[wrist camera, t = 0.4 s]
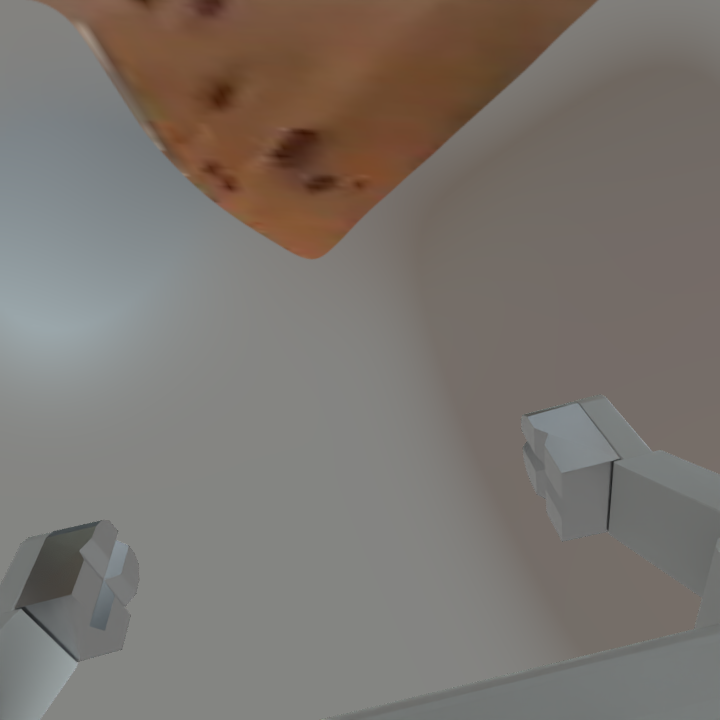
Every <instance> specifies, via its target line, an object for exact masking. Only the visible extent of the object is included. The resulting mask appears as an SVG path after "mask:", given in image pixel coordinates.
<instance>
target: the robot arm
mask: <svg viewBox="0 0 720 720" xmlns="http://www.w3.org/2000/svg"><path fill="white" fill-rule="evenodd" d="M521 427H522V432H523V434H524V435H525V437H526V439H527V442H526V443H525V445H524V446H523V455H524V462H525V466H526V470H527V474H528V476H529V479H530V481H531V484H532V486H533V488H534V490H535V491H536V493H537V495H539V496H541V497H543V498H544V499H546V508H547V509H546V510H547V514H548V516H549V518H550V520H551V522H552V524H553V526H554V527H555V529H556V531H557V533H558V535H559V537H560V539H561V540H562V541H567V540H572V539H577V538H581V537H586V536H590V535H595V534H600V533H604V532H608V533H609V535H611V536H612V537H614V538H615V539H617V540H618V541H620V542H621V543H623V544H624V545H626V546H627V547H628V548H630V549H631V550H633V551H634V552H636V553H637V554H639V555H640V556H641V557H643V558H644V559H646V560H647V561H649V562H650V563H652V564H653V565H655V566H656V567H658V568H659V569H661V570H662V571H663V572H665V573H666V574H668V575H670V576H671V577H672V578H674V579H675V580H677V581H678V582H680V583H681V584H683V585H684V586H685V587H687V588H688V589H690V590H691V591H693V592H694V593H696V594H697V595H699V596H700V597H702V601H701V605H700V608H699V612H698V616H697V620H696V624H695V627H694V629H693V630H689V631H686V632H681V633H677V634H673V635H669V636H665V637H660V638H656V639H652V640H648V641H644V642H640V643H636V644H631V645H627V646H623V647H619V648H616V649H611V650H607V651H603V652H598V653H594V654H590V655H586V656H582V657H578V658H574V659H570V660H566V661H562V662H557V663H553V664H549V665H545V666H541V667H537V668H533V669H528V670H524V671H520V672H516V673H512V674H507V675H503V676H499V677H495V678H491V679H487V680H483V681H478V682H474V683H470V684H466V685H462V686H458V687H453V688H450V689H445V690H441V691H437V692H433V693H429V694H425V695H420V696H417V697H412V698H408V699H404V700H400V701H395V702H392V703H387V704H383V705H379V706H375V707H371V708H367V709H362V710H358V711H354V712H350V713H346V714H342V715H337V716H333V717H329V718H325V719H321V720H720V474H717V473H715V472H712V471H710V470H707V469H705V468H703V467H700V466H698V465H695V464H693V463H691V462H688V461H686V460H683V459H681V458H679V457H676V456H674V455H671V454H669V453H667V452H664V451H662V450H659V451H655V452H652V451H651V449H650V448H649V447H648V446H647V445H646V444H645V442H644V441H643V440H642V439H641V438H640V437H639V435H638V434H637V433H636V432H635V431H634V430H633V428H632V427H631V426H630V425H629V424H628V423H627V421H625V419H624V418H623V417H622V416H621V414H620V413H619V412H618V411H617V410H616V408H615V407H614V406H613V405H612V404H611V403H610V401H609V400H608V399H607V398H606V397H605V396H603V395H596V396H593V397H589V398H585V399H581V400H577V401H574V402H570V403H566V404H563V405H559V406H555V407H551V408H547V409H543V410H539V411H536V412H532V413H528V414H524V415H522V419H521ZM117 534H118V530H117V529H116V528H115V527H114V525H113V524H112V523H111V522H110V521H108V520H101V521H97V522H92V523H88V524H83V525H79V526H75V527H70V528H66V529H62V530H57V531H53V532H51V533H46V534H42V535H37V536H32V537H28V538H27V539H26V540H25V541H23V542H22V543H21V544H20V546H19V548H18V550H17V552H16V554H15V556H14V558H13V560H12V562H11V564H10V566H9V568H8V570H7V572H6V575H5V577H4V578H3V580H2V583H1V585H0V720H40V719H41V718H42V716H43V715H44V713H45V712H46V710H47V709H48V707H49V706H50V704H51V703H52V702H53V700H54V699H55V697H56V696H57V695H58V693H59V692H60V690H61V689H62V687H63V686H64V684H65V683H66V682H67V680H68V678H69V677H70V676H71V674H72V673H73V672H74V670H75V669H76V667H77V666H78V663H77V662H79V661H82V660H86V659H90V658H94V657H97V656H101V655H104V654H108V653H112V652H115V651H119V650H122V648H123V644H124V640H125V636H126V632H127V628H128V624H129V620H130V617H131V615H130V613H129V611H128V610H127V608H126V605H127V604H128V603H129V602H130V600H131V599H132V598H133V597H134V596H135V594H136V592H137V588H138V583H139V565H138V561H137V559H136V556H135V553H134V552H133V550H132V549H131V548H130V546H129V545H126V544H124V543H122V542H119V541H117V540H116V537H117Z"/></svg>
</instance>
